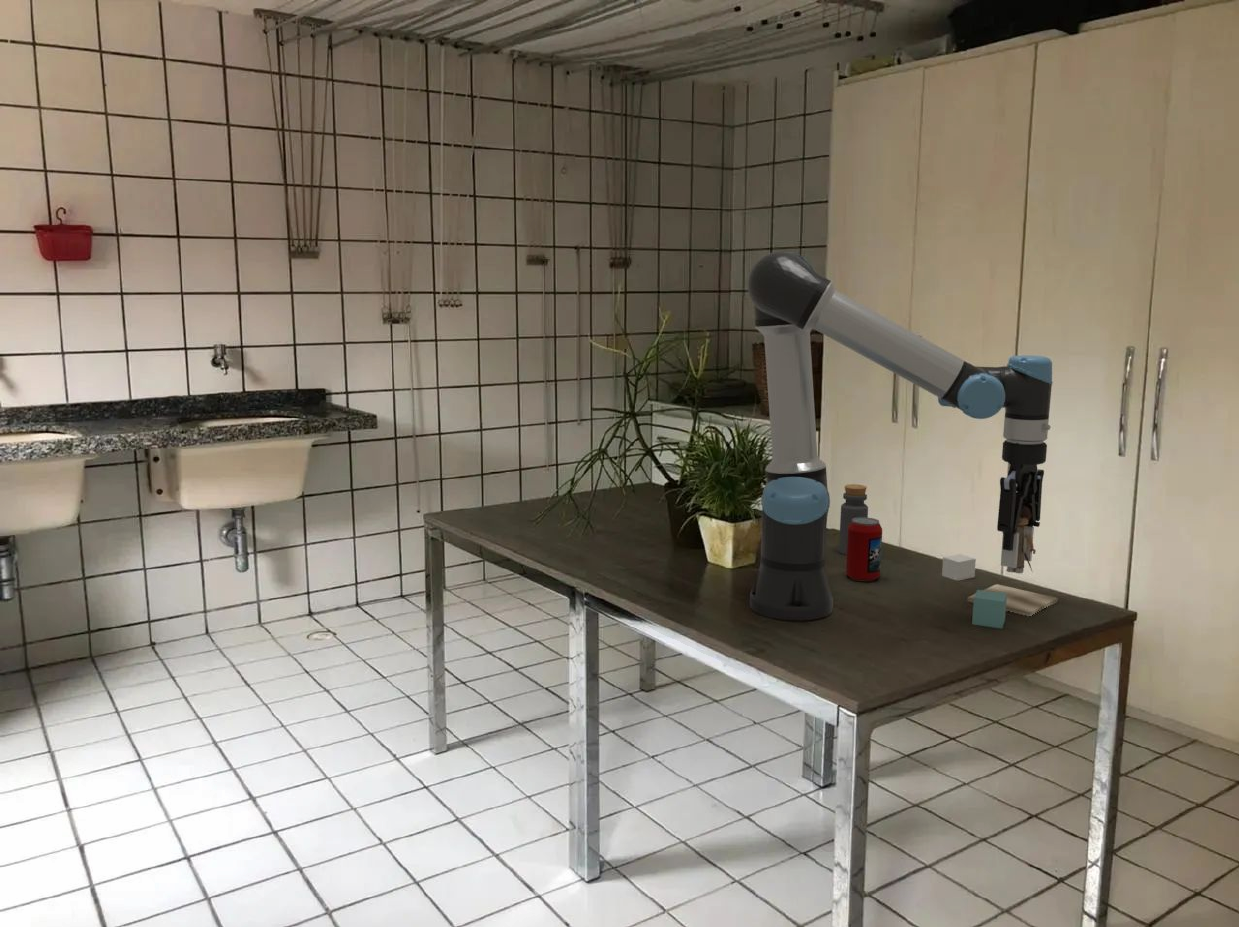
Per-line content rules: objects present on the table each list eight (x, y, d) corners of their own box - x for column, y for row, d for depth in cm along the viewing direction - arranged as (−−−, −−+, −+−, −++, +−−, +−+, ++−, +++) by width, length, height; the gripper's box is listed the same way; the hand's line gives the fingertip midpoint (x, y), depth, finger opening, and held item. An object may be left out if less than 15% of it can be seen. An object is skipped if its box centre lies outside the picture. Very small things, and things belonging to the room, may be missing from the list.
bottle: (863, 549, 225) (867, 483, 222) (867, 556, 219) (871, 489, 216) (837, 548, 225) (840, 483, 222) (840, 555, 219) (843, 488, 217)
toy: (996, 572, 186) (1002, 494, 184) (1000, 566, 191) (1006, 489, 189) (1031, 577, 184) (1039, 497, 181) (1034, 570, 188) (1042, 493, 186)
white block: (957, 581, 202) (958, 562, 201) (941, 576, 205) (943, 557, 204) (974, 577, 204) (975, 558, 203) (959, 572, 207) (960, 554, 207)
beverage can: (880, 583, 199) (883, 525, 197) (846, 581, 201) (848, 523, 198) (878, 574, 206) (882, 517, 204) (845, 572, 207) (848, 515, 205)
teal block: (1002, 629, 174) (1004, 601, 173) (971, 624, 176) (973, 597, 175) (1004, 620, 179) (1006, 593, 178) (975, 616, 181) (977, 589, 180)
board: (1030, 616, 180) (1030, 612, 180) (967, 601, 189) (967, 597, 188) (1057, 602, 188) (1057, 597, 188) (996, 587, 197) (996, 584, 197)
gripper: (1023, 449, 174) (1013, 577, 178) (1066, 437, 187) (1056, 557, 191) (981, 444, 179) (973, 569, 183) (1026, 433, 192) (1018, 549, 196)
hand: (1016, 562), depth 187 cm, fingers closed on toy, 6 cm apart
